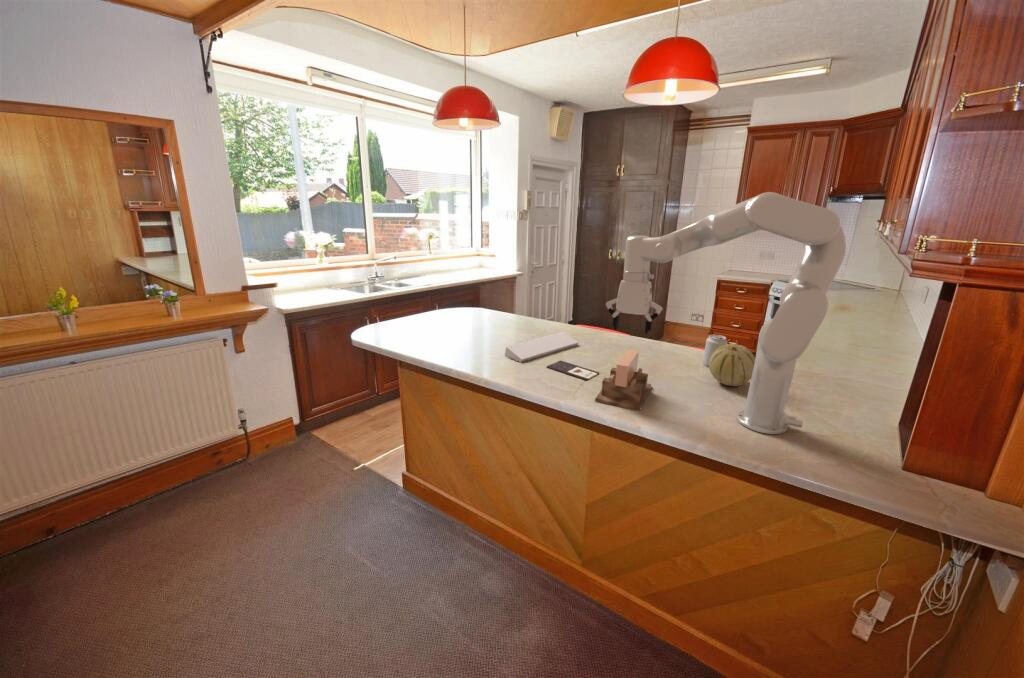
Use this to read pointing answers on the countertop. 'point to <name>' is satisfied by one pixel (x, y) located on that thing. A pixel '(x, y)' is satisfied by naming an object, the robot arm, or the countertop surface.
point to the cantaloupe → (732, 364)
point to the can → (713, 346)
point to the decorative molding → (540, 346)
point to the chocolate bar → (573, 370)
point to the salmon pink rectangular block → (626, 368)
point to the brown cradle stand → (625, 391)
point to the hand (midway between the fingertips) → (631, 330)
